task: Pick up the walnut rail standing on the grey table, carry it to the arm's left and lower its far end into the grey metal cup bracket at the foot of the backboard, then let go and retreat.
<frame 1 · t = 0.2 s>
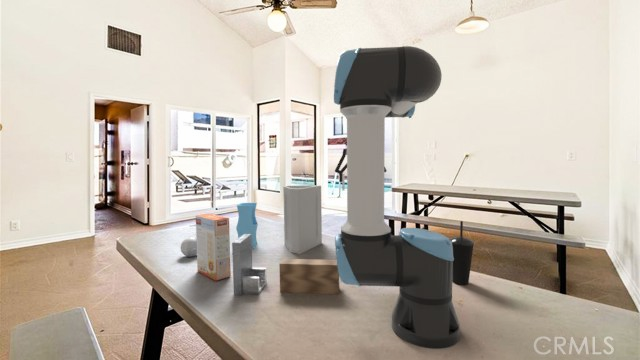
hand: (360, 190, 117), 28 cm above the table, tool pointing down, fingers open, 13 cm apart
rail: (310, 290, 91), on the table
white triangular prism: (298, 246, 137), on the table
drinking cup: (460, 282, 95), on the table
bath bomb: (191, 256, 124), on the table
cracker box: (214, 274, 104), on the table
vase: (247, 246, 138), on the table
bracket: (250, 287, 92), on the table
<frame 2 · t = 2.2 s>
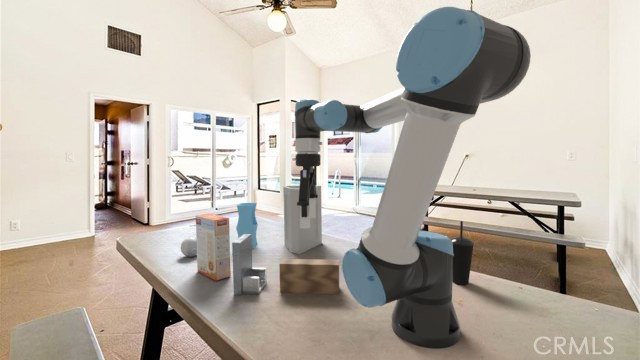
hand: (308, 222, 89), 21 cm above the table, tool pointing down, fingers open, 13 cm apart
nothing on the table moved.
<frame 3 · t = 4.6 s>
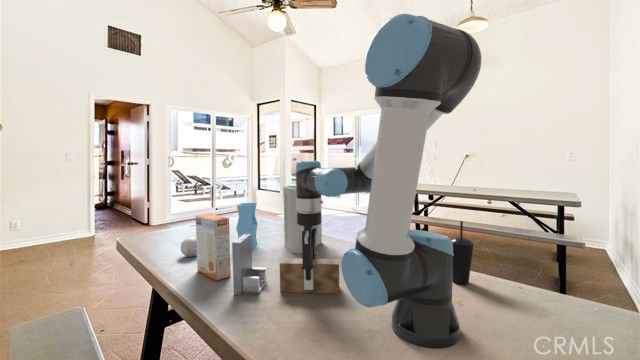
hand: (310, 285, 91), 1 cm above the table, tool pointing down, fingers closed on rail, 5 cm apart
rail: (310, 289, 91), on the table, touching gripper
everything else where it was.
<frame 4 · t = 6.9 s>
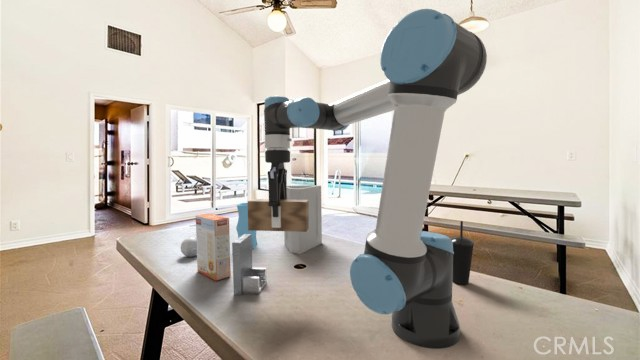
hand: (278, 225, 90), 20 cm above the table, tool pointing down, fingers closed on rail, 5 cm apart
rail: (278, 229, 90), point 19 cm above the table, touching gripper
everything else where it was.
when the fingers open (3 cm above the table, at t = 9.6 s): rail drops 1 cm, resting on bracket.
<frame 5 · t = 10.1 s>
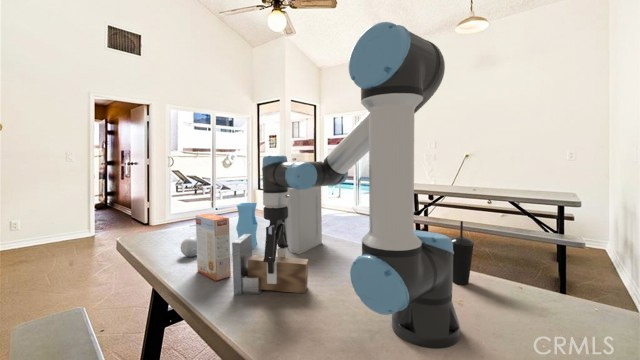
hand: (277, 275, 91), 4 cm above the table, tool pointing down, fingers open, 11 cm apart
rail: (277, 287, 91), point 1 cm above the table, touching bracket
everything else where it was.
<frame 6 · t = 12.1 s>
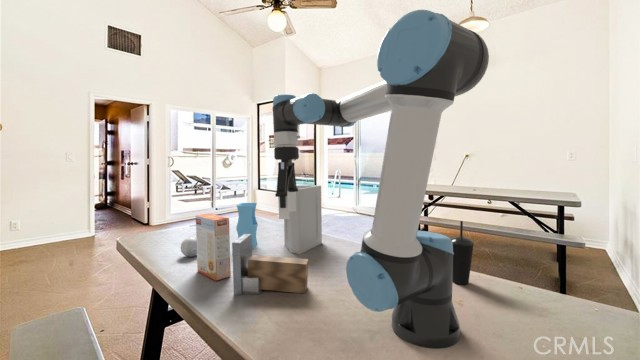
hand: (288, 214, 91), 23 cm above the table, tool pointing down, fingers open, 13 cm apart
nothing on the table moved.
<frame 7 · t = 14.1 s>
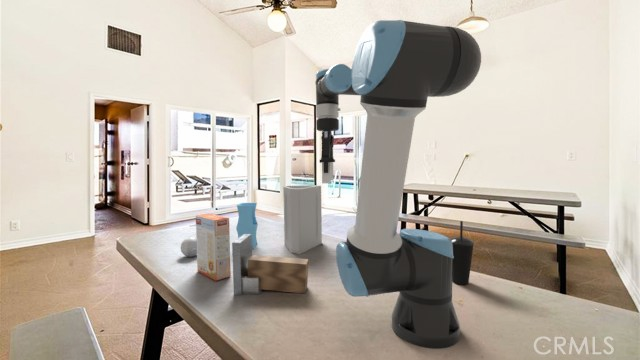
hand: (328, 181, 99), 33 cm above the table, tool pointing down, fingers open, 13 cm apart
nothing on the table moved.
at the end: rail 0.1 cm from the target spot, point 0.5 cm above the table; rail tilted 3°; rail touching bracket, table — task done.
